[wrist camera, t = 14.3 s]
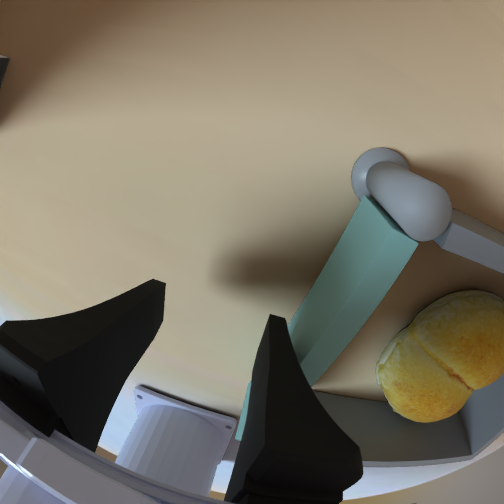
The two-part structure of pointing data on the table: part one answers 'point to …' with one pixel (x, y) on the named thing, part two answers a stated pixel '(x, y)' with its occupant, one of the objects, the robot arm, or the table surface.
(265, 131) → the table surface
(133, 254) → the table surface
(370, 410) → the grey open box
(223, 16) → the table surface
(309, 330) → the teal flat bar
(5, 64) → the cake mix box
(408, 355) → the bread roll
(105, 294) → the table surface
